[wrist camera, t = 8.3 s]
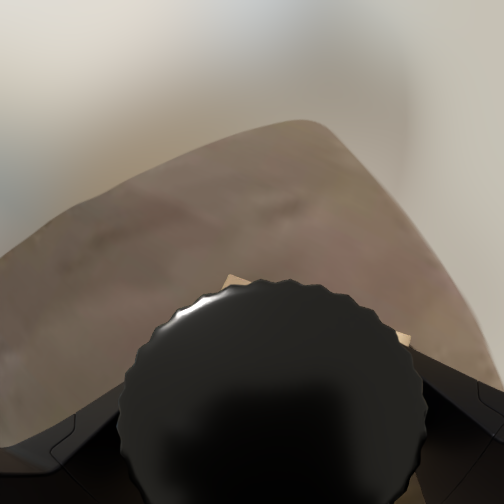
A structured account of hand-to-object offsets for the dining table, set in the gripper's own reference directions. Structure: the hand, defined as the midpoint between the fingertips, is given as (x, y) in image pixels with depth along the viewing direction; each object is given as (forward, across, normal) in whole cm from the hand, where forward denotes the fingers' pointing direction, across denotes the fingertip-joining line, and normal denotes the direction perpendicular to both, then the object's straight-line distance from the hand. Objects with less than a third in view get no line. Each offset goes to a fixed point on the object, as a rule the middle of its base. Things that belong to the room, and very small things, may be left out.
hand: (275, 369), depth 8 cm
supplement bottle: (+4, 0, +6) cm, 8 cm away
